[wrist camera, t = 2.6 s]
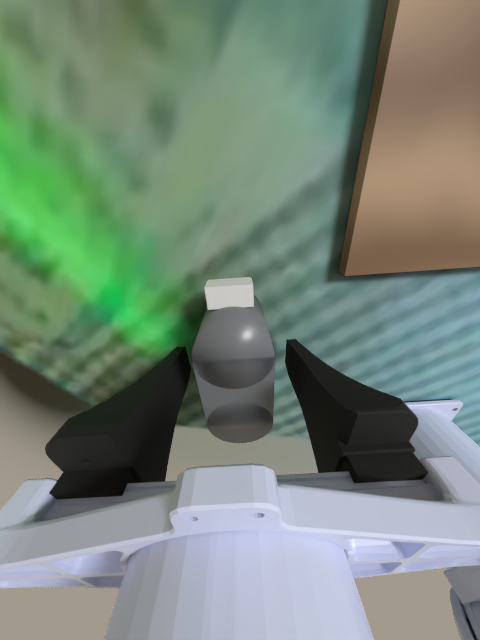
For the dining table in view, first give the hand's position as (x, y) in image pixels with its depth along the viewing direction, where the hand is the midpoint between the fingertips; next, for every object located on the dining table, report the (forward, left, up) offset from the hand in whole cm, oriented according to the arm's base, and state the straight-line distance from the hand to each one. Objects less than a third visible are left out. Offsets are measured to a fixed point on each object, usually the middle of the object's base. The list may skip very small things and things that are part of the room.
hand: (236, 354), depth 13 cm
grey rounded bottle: (0, 0, -1) cm, 1 cm away
